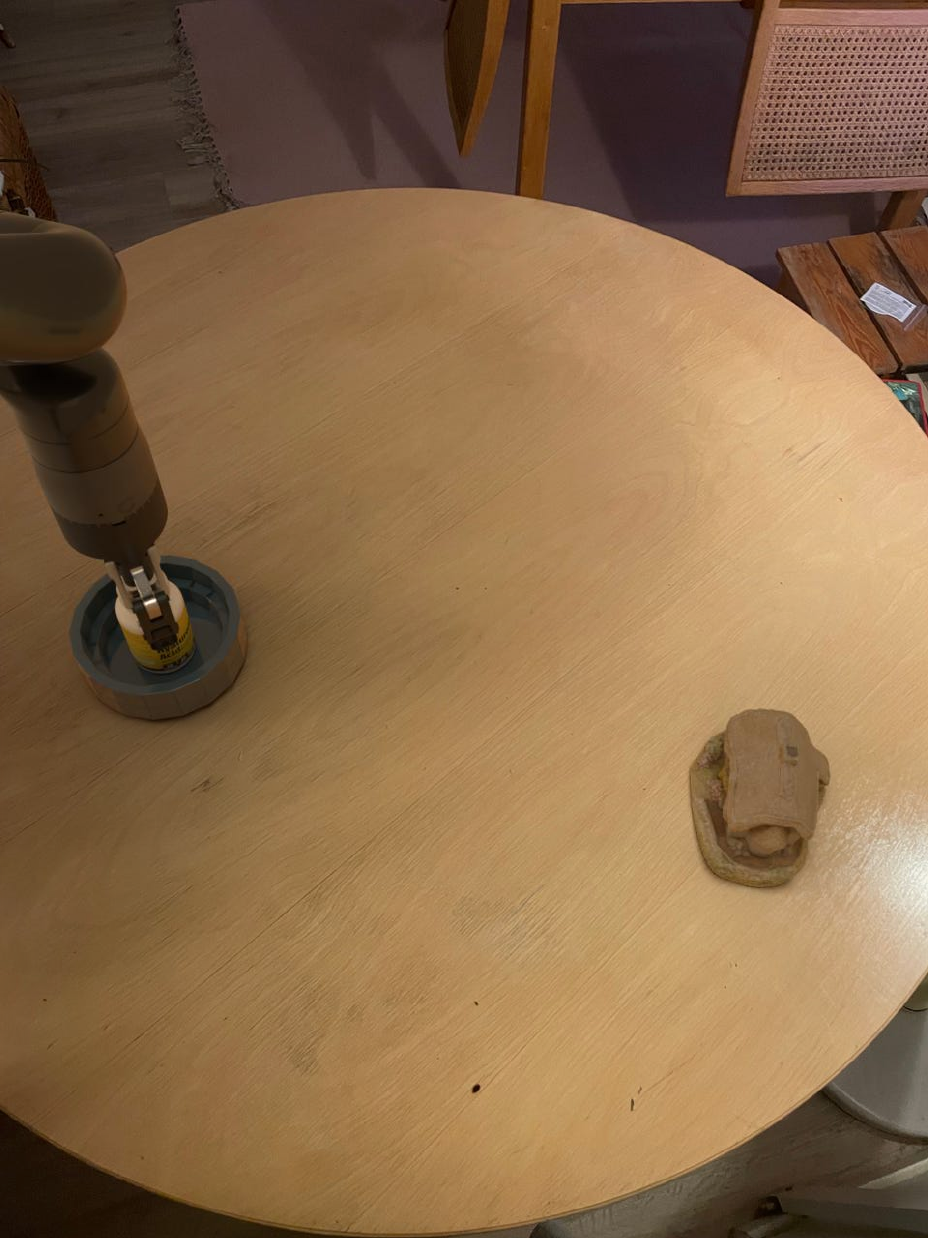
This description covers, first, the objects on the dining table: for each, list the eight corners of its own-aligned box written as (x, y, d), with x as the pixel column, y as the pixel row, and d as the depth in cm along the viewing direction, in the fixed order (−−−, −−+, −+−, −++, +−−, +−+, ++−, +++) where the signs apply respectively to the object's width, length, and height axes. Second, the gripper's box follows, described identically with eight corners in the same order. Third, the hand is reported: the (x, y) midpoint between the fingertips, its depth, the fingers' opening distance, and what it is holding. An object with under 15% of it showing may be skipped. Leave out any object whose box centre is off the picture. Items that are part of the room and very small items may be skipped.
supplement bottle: (169, 686, 88) (144, 623, 80) (120, 656, 89) (90, 592, 81) (210, 641, 90) (189, 575, 82) (162, 613, 92) (137, 546, 84)
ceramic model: (691, 719, 89) (720, 659, 81) (822, 742, 88) (865, 683, 80) (682, 876, 81) (713, 828, 73) (825, 902, 81) (873, 856, 72)
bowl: (101, 744, 86) (85, 716, 81) (74, 611, 93) (58, 578, 88) (264, 696, 89) (257, 667, 84) (226, 571, 96) (218, 537, 91)
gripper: (18, 426, 74) (82, 566, 88) (75, 574, 67) (134, 701, 81) (122, 394, 76) (167, 536, 90) (187, 534, 69) (226, 664, 83)
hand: (151, 613), depth 85 cm, fingers open, 5 cm apart
